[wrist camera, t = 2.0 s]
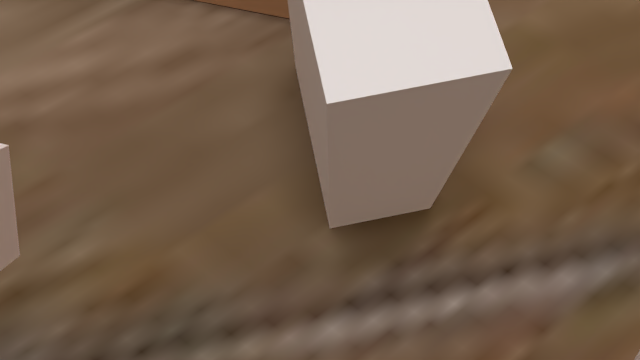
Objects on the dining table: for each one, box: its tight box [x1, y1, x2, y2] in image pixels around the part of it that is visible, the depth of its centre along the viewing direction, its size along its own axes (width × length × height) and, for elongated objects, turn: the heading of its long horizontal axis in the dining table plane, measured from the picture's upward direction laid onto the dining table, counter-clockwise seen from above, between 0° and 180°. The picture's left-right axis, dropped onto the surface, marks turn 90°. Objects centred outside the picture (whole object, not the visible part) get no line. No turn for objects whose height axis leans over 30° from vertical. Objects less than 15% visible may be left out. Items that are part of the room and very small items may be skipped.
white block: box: [288, 0, 512, 228], centre depth 22 cm, size 5×9×13 cm, turn 11°
